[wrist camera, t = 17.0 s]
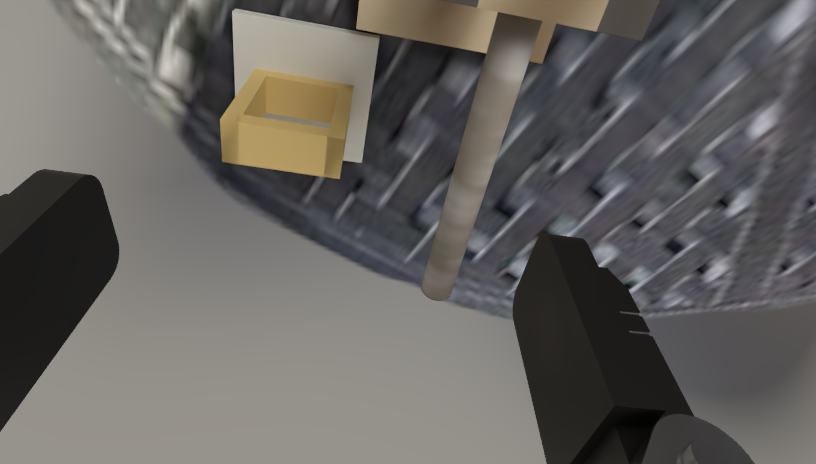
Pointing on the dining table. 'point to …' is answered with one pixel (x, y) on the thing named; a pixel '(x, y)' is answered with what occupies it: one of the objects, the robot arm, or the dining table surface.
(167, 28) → the dining table surface
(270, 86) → the loop
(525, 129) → the dining table surface
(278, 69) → the mat
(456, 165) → the stand
